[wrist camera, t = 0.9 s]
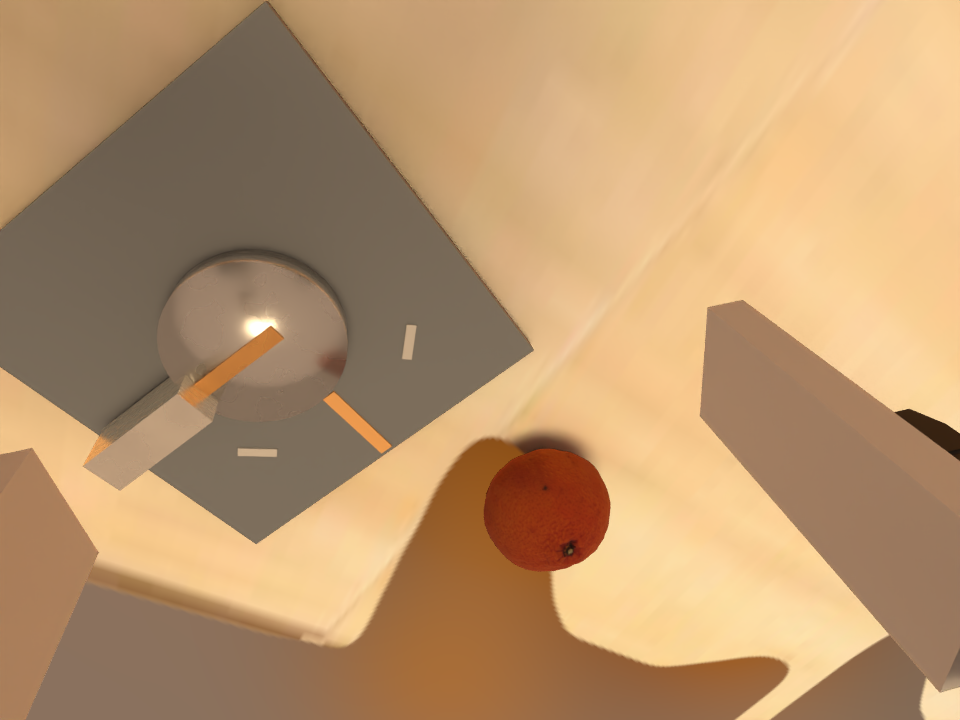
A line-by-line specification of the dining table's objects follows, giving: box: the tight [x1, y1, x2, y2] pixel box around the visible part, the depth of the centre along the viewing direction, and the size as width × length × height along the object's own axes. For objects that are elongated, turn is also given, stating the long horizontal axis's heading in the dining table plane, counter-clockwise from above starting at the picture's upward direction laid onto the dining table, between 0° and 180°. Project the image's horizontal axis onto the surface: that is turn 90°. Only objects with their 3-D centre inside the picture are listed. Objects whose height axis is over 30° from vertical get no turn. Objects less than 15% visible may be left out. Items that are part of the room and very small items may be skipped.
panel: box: [0, 1, 534, 544], centre depth 37 cm, size 24×24×1 cm
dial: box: [83, 249, 348, 490], centre depth 35 cm, size 16×10×4 cm, turn 124°
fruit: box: [484, 449, 610, 571], centre depth 44 cm, size 9×9×8 cm
